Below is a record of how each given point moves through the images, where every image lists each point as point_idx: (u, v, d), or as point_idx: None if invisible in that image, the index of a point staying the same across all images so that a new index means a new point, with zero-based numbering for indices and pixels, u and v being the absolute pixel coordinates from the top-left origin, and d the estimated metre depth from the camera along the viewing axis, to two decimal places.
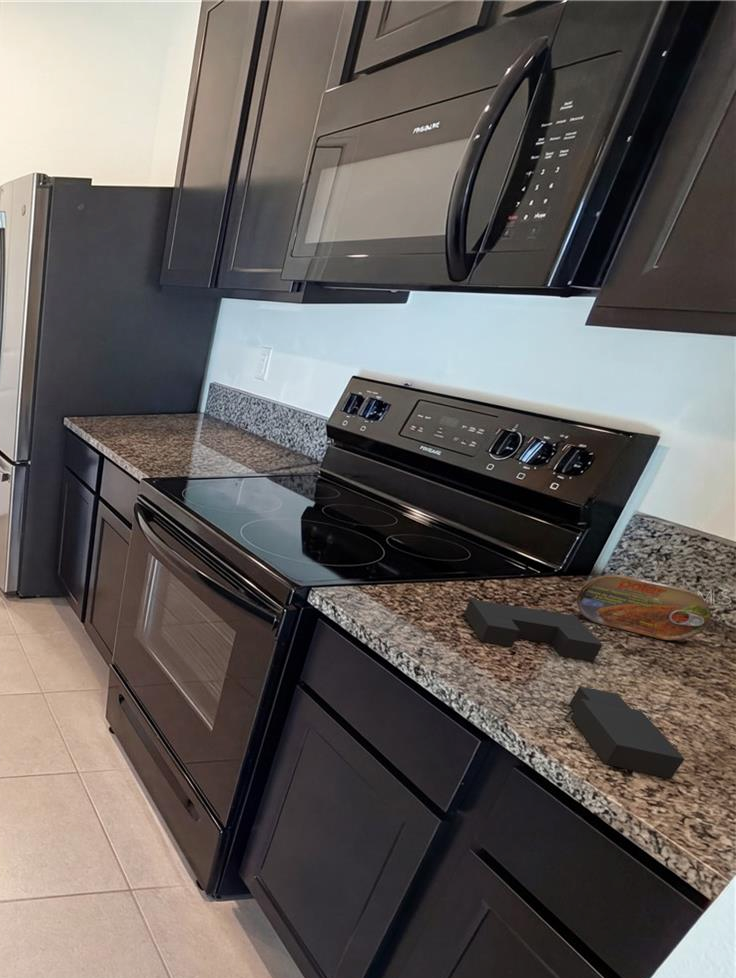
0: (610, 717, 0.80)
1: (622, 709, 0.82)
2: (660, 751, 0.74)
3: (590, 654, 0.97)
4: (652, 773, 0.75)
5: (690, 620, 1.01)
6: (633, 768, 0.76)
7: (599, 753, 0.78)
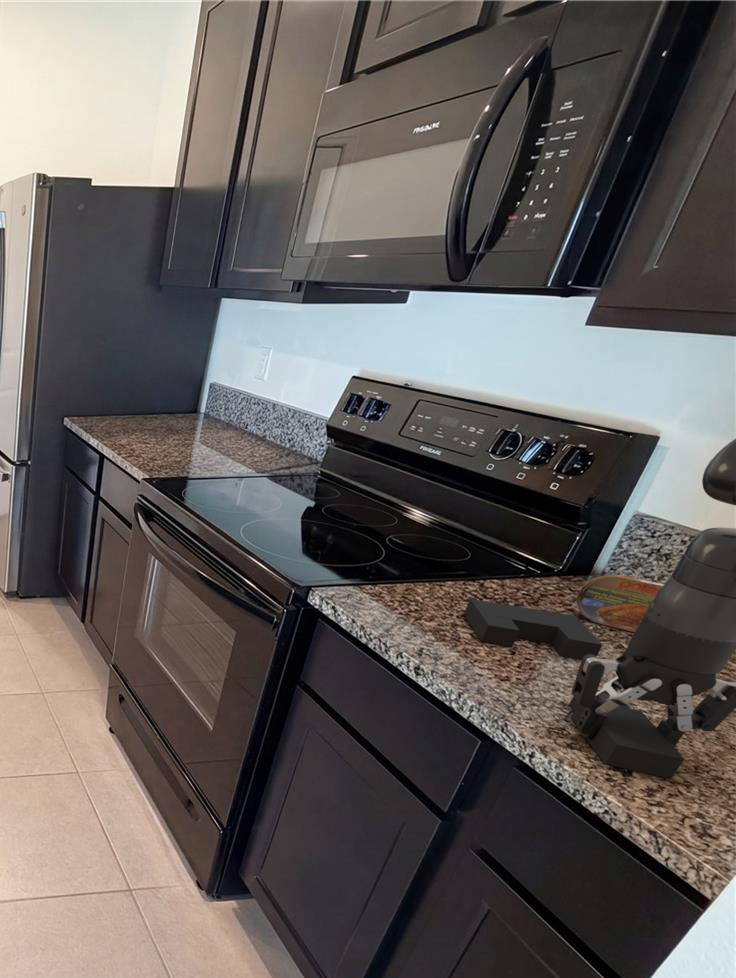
0: (610, 717, 0.80)
1: (622, 709, 0.82)
2: (660, 751, 0.74)
3: None
4: (652, 773, 0.75)
5: None
6: (633, 768, 0.76)
7: (599, 753, 0.78)
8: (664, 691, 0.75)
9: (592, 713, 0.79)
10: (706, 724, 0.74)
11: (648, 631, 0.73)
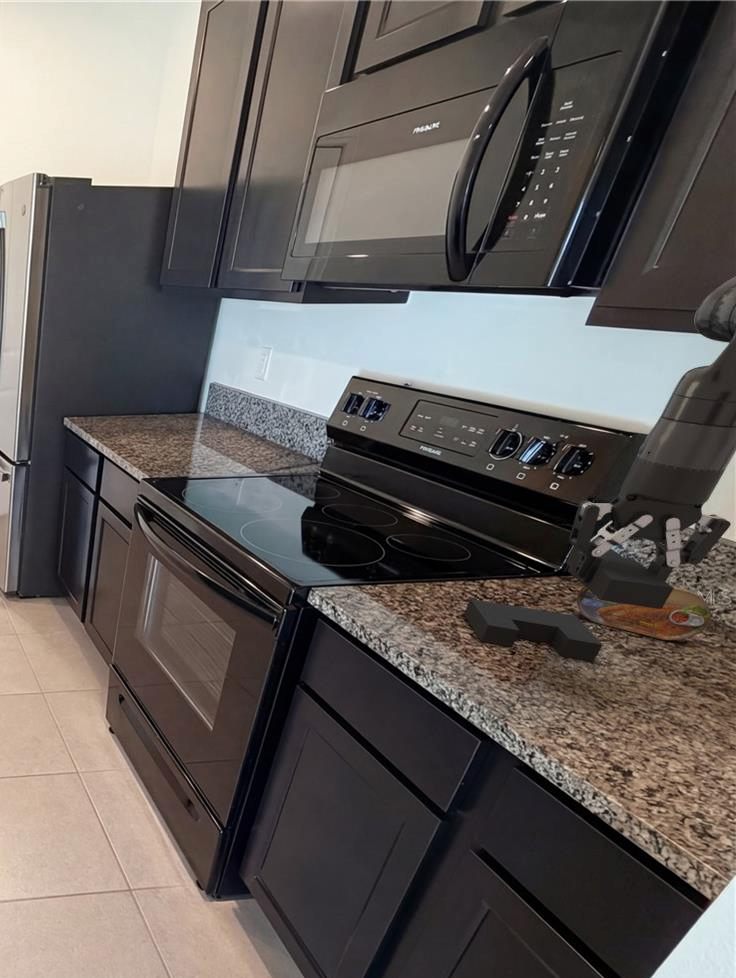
0: (604, 562, 0.86)
1: (615, 557, 0.88)
2: (651, 583, 0.80)
3: (590, 654, 0.97)
4: (644, 605, 0.81)
5: (690, 620, 1.01)
6: (627, 601, 0.82)
7: (595, 592, 0.84)
8: (655, 528, 0.81)
9: (588, 557, 0.85)
10: (693, 557, 0.80)
11: (639, 469, 0.79)
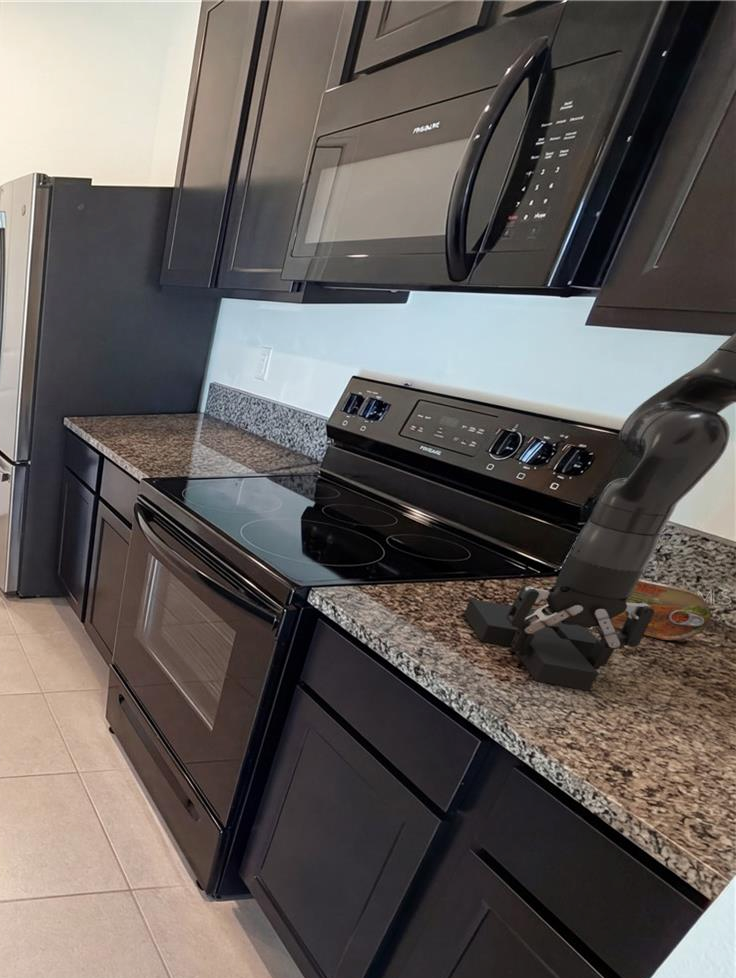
0: (542, 644, 0.96)
1: (553, 639, 0.97)
2: (579, 667, 0.90)
3: None
4: (573, 687, 0.91)
5: (690, 620, 1.01)
6: (558, 683, 0.92)
7: (531, 673, 0.94)
8: (586, 616, 0.90)
9: (522, 633, 0.94)
10: (631, 641, 0.89)
11: (570, 565, 0.89)
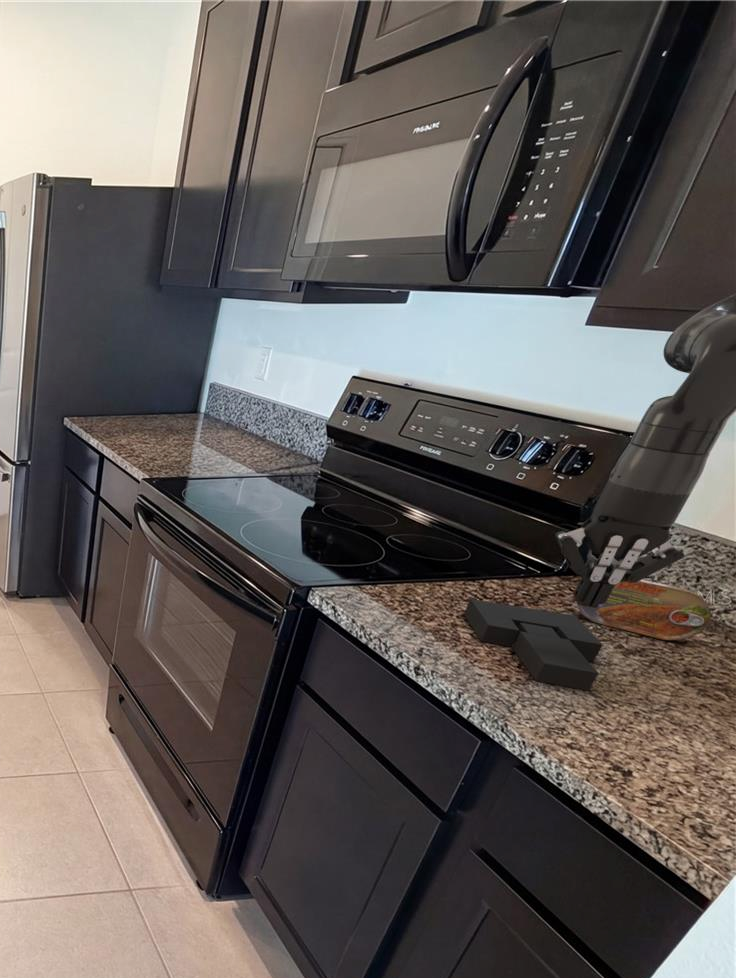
0: (542, 644, 0.96)
1: (553, 639, 0.97)
2: (579, 667, 0.90)
3: (590, 654, 0.97)
4: (573, 687, 0.91)
5: (690, 620, 1.01)
6: (558, 683, 0.92)
7: (531, 673, 0.94)
8: (625, 548, 0.85)
9: (587, 581, 0.88)
10: (632, 576, 0.86)
11: (610, 492, 0.84)
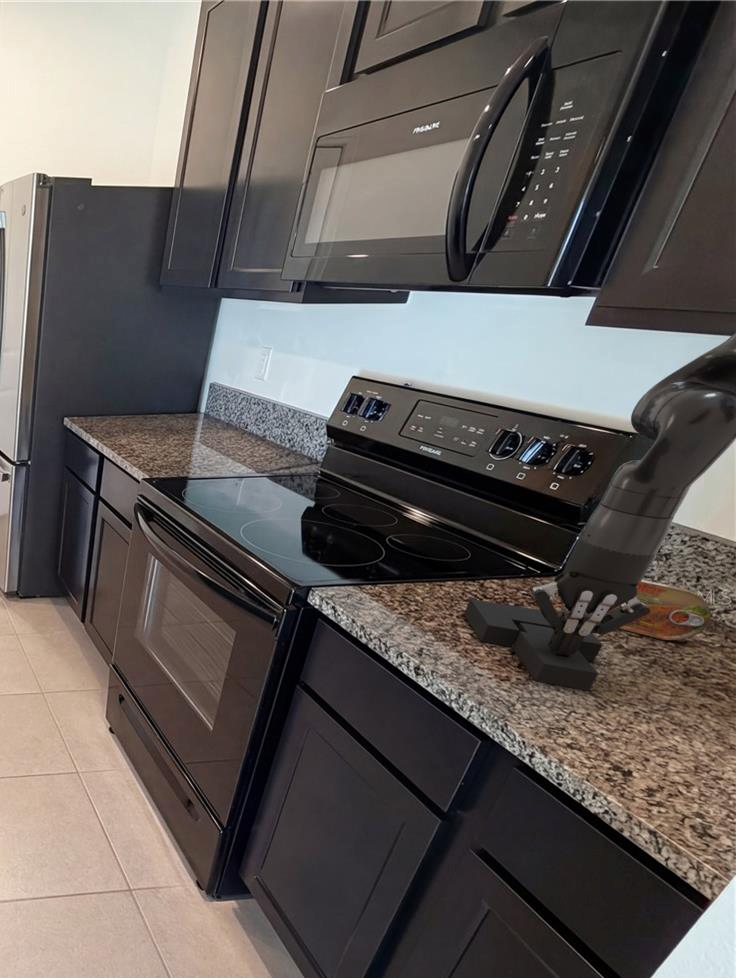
0: (542, 644, 0.96)
1: None
2: (579, 668, 0.90)
3: (590, 654, 0.97)
4: (573, 687, 0.91)
5: (690, 620, 1.01)
6: (558, 683, 0.92)
7: (531, 673, 0.94)
8: (595, 602, 0.89)
9: (561, 632, 0.92)
10: (601, 628, 0.90)
11: (580, 550, 0.87)
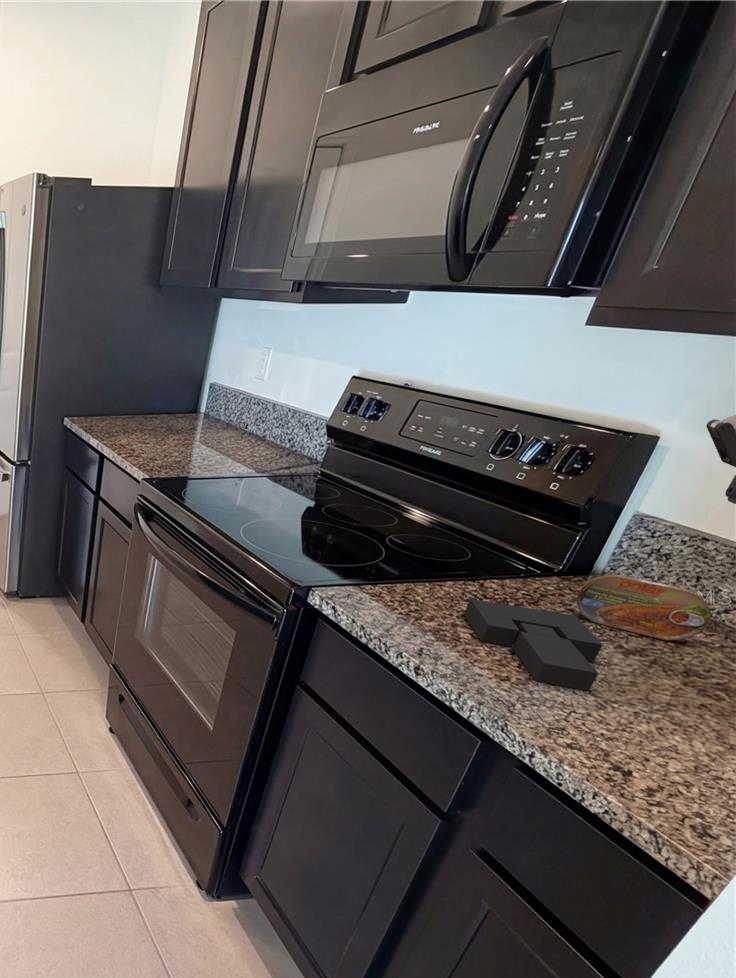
0: (542, 644, 0.96)
1: (553, 639, 0.97)
2: (579, 667, 0.90)
3: (590, 654, 0.97)
4: (573, 687, 0.91)
5: (690, 620, 1.01)
6: (558, 683, 0.92)
7: (531, 673, 0.94)
8: None
9: None
10: None
11: None
